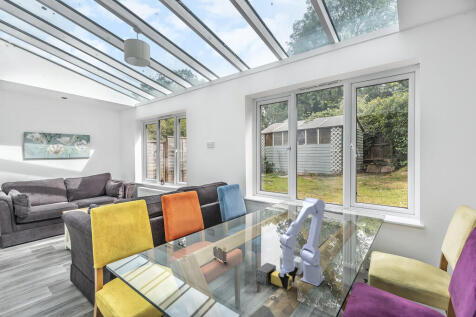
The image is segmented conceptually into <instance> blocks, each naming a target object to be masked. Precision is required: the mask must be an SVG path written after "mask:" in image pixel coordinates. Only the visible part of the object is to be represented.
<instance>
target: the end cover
mask: <svg viewBox="0 0 476 317" xmlns="http://www.w3.org/2000/svg"><path fill="white" fill-rule="evenodd" d="M279 273H280V271H277V270H276V271H274V272H273V273H272V274H271V282H270V283H271V284H273V285H276V286H278V287H281V288H283V286H282V283H281V280H280V278H279V276H278V274H279ZM286 275H287V276H289V274H286ZM292 287H293V282H292V276H290V278H289V280H288V288H287V289H286V290H290V289H291V288H292Z"/></svg>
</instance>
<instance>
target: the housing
mask: <svg viewBox="0 0 476 317" xmlns="http://www.w3.org/2000/svg"><path fill="white" fill-rule="evenodd" d="M274 271H277V265H276V264H272V263H269V262H266V263H264V264H262V265H261V266H260V267H258V268H256V282H257V283H259V284H262V285H265V286H268V285H269V284H270V283H271V274H272V273H273V272H274Z"/></svg>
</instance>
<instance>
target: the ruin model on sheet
mask: <svg viewBox="0 0 476 317" xmlns="http://www.w3.org/2000/svg"><path fill="white" fill-rule="evenodd" d="M226 250H227V247H226V246H224V247H223V248H221V247H218V246H217V245H216V246H213V247H212V254H213V255H214V256H215V257H217V258H219V259H220V260H222V261H223V262H224V261H226V262H227V251H226Z"/></svg>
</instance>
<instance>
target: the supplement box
mask: <svg viewBox="0 0 476 317" xmlns="http://www.w3.org/2000/svg"><path fill="white" fill-rule="evenodd" d="M294 262H296V267H297V268H298V271H297V273H296V275H298V276H301V274H302V273H303V262H302V259H301V258H300V256H298V255H294ZM282 264H283V263H282V255H281V256H280V257H279V269H280V270H281V269H282V267H281V265H282Z"/></svg>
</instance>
